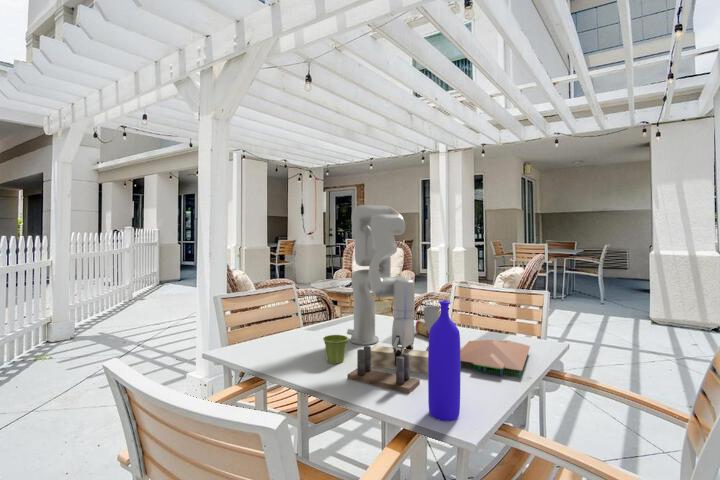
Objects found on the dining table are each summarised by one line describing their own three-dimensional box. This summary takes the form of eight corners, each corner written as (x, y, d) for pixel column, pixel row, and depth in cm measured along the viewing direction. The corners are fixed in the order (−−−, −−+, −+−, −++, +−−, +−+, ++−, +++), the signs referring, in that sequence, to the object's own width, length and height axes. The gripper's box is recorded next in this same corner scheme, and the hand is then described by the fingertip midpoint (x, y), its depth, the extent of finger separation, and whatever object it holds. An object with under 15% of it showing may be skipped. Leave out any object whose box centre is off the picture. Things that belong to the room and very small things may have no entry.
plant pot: (351, 358, 144) (351, 336, 144) (342, 367, 135) (342, 342, 135) (329, 356, 147) (329, 333, 147) (318, 364, 138) (318, 340, 138)
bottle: (424, 407, 104) (424, 298, 103) (454, 406, 104) (454, 298, 104) (433, 422, 95) (433, 304, 95) (464, 421, 96) (465, 303, 96)
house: (450, 370, 132) (450, 347, 132) (471, 345, 161) (471, 326, 161) (521, 383, 121) (521, 358, 121) (530, 354, 150) (530, 333, 150)
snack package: (457, 342, 165) (457, 327, 165) (446, 344, 162) (446, 329, 162) (425, 331, 184) (425, 317, 183) (414, 333, 180) (414, 319, 180)
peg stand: (347, 378, 124) (347, 350, 124) (360, 371, 131) (360, 343, 131) (409, 393, 113) (409, 361, 112) (419, 384, 120) (419, 354, 119)
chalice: (440, 356, 147) (440, 309, 146) (422, 354, 148) (422, 309, 148) (439, 350, 154) (440, 306, 154) (423, 349, 155) (423, 305, 155)
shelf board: (369, 365, 136) (369, 350, 136) (374, 360, 142) (374, 345, 142) (435, 374, 128) (436, 358, 128) (438, 368, 134) (439, 352, 134)
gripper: (404, 308, 144) (404, 355, 145) (383, 317, 129) (383, 369, 130) (422, 310, 140) (423, 358, 141) (403, 319, 126) (403, 373, 126)
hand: (404, 363), depth 135 cm, fingers closed on shelf board, 7 cm apart
